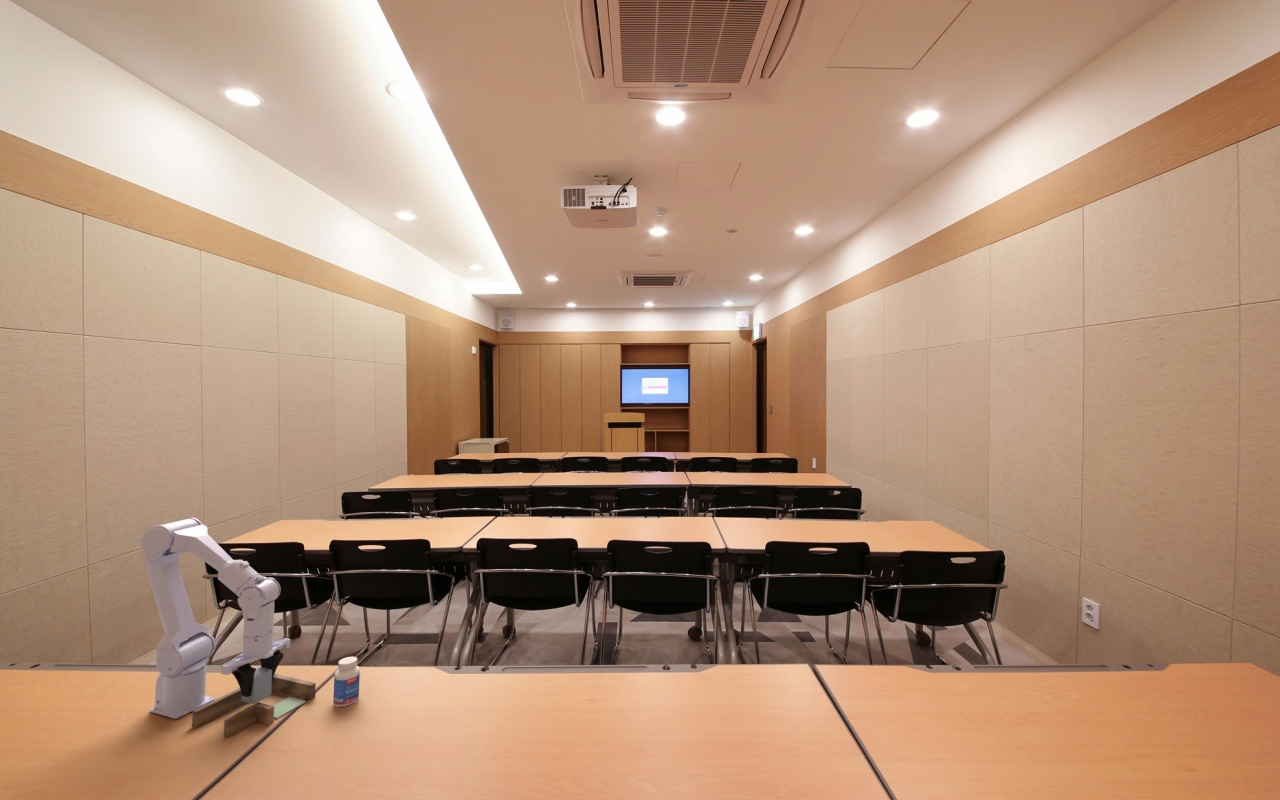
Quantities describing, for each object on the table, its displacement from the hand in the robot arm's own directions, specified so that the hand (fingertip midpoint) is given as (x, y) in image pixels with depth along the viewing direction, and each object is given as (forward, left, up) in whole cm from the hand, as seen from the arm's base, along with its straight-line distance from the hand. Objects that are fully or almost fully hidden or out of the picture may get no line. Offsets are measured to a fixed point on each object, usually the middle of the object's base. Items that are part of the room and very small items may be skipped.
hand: (256, 690), depth 117 cm
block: (0, 0, -2) cm, 2 cm away
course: (+2, -1, -4) cm, 4 cm away
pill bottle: (+18, +9, -4) cm, 20 cm away
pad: (+6, +2, -4) cm, 8 cm away
